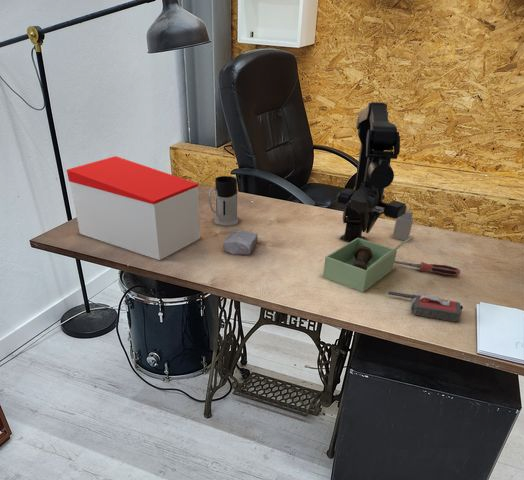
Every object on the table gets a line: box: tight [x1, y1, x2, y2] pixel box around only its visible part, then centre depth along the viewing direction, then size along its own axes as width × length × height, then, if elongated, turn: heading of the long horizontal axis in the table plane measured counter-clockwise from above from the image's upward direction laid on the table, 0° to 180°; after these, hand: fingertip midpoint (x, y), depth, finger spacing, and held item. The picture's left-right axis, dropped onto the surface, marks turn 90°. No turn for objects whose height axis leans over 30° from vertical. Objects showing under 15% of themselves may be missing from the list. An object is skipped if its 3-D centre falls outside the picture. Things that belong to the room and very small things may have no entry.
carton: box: [322, 238, 398, 293], centre depth 141 cm, size 19×14×6 cm
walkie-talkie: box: [386, 290, 464, 323], centre depth 126 cm, size 9×4×20 cm
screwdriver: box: [394, 260, 461, 277], centre depth 146 cm, size 25×3×3 cm, turn 73°
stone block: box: [222, 230, 259, 256], centre depth 154 cm, size 12×5×10 cm
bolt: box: [352, 246, 373, 270], centre depth 142 cm, size 6×5×15 cm
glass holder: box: [208, 175, 239, 227], centre depth 167 cm, size 9×14×15 cm, turn 148°
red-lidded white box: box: [66, 155, 201, 261], centre depth 153 cm, size 21×35×21 cm, turn 59°
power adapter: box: [391, 203, 414, 242], centre depth 163 cm, size 3×5×12 cm, turn 62°
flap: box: [367, 234, 415, 269], centre depth 133 cm, size 19×7×1 cm
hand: (365, 232), depth 136 cm, fingers closed
